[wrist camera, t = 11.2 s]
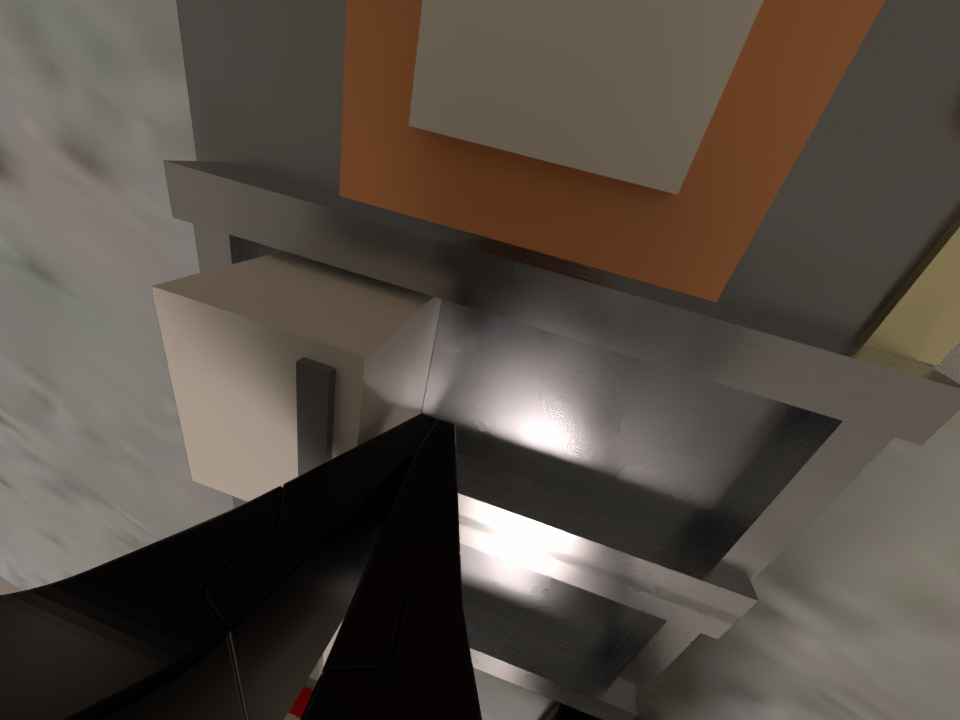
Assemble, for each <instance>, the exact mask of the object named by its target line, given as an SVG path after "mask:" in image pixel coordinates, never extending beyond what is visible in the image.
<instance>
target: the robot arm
mask: <svg viewBox="0 0 960 720" xmlns="http://www.w3.org/2000/svg"><path fill="white" fill-rule="evenodd" d="M343 619H344V620H343ZM342 621H343V622H342ZM341 622H342V624H341ZM340 624H341V627H340V629H339V631H338V634H337V636H336V638H335V641H334V643H333V646H332V648H331V650H330V653H329V655H328V657H327V660H326V662H325V665H324V667H323V670H322V674H321V675H320V677H319V679H318V681H317V684H316V686H315V688H314V691H313V693H312V695H311V697H310V700H309V702H308V704H307V706H306V708H305V710H304V712H303V714H302V716H301V718H300V720H482V717H481V711H480V705H479V699H478V693H477V688H476V682H475V676H474V670H473V664H472V658H471V652H470V646H469V640H468V633H467V626H466V618H465V611H464V602H463V589H462V576H461V555H460V532H459V507H458V481H457V456H456V430H455V425H454V424H453V423H451V422H448V421H445V420H442V419H438V418H436V417H433V416H430V415H427V414H423V413H422V414H419V415H417V416H415V417H413V418H411V419H409V420H407V421H405V422H403V423H401V424H399V425H397V426H395V427H393V428H391V429H389V430H388V431H386V432H384V433H382V434H380V435H378V436H376V437H374V438H372V439H370V440H368V441H366V442H364V443H362V444H360V445H358V446H356V447H354V448H352V449H350V450H349V451H347V452H345V453H343V454H341V455H339V456H337V457H335V458H333V459H331V460H329V461H327V462H325V463H323V464H321V465H319V466H317V467H315V468H313V469H312V470H310V471H308V472H306V473H304V474H302V475H300V476H298V477H296V478H294V479H292V480H290V481H288V482H286V483H284V485H283V488H282V486H278V487H276V488H274V489H272V490H270V491H268V492H266V493H264V494H262V495H261V496H259V497H256V498H254V499H252V500H250V501H248V502H246V503H244V504H242V505H240V506H238V507H236V508H234V509H232V510H230V511H228V512H225V513H223V514H221V515H218V516H216V517H214V518H212V519H209V520H207V521H205V522H202V523H200V524H198V525H196V526H193V527H191V528H189V529H186V530H184V531H182V532H179V533H177V534H174V535H172V536H169V537H167V538H165V539H162V540H160V541H157V542H155V543H153V544H150V545H148V546H145V547H143V548H141V549H138V550H136V551H133V552H131V553H129V554H126V555H124V556H121V557H119V558H117V559H114V560H112V561H109V562H107V563H105V564H102V565H100V566H97V567H95V568H93V569H90V570H88V571H85V572H82V573H80V574H77V575H75V576H72V577H69V578H66V579H63V580H60V581H57V582H54V583H51V584H48V585H44V586H40V587H37V588H33V589H29V590H25V591H20V592H16V593H11V594H6V595H0V720H284V719H285V717H286V715H287V714H288V712H289V710H290V709H291V707H292V705H293V703H294V702H295V700H296V698H297V697H298V695H299V693H300V692H301V690H302V688H303V687H304V685H305V683H306V681H307V680H308V678H309V676H310V675H311V673H312V671H313V670H314V668H315V666H316V665H317V663H318V661H319V659H320V658H321V656H322V654H323V653H324V651H325V649H326V648H327V646H328V644H329V643H330V641H331V639H332V637H333V636H334V634H335V632H336V631H337V629H338V627H339V626H340ZM544 720H602V719H599V718H597V717H594V716H592V715H589V714H587V713H584V712H582V711H580V710H577V709H575V708H572V707H570V706H567V705H565V704H562V703H560V702H557V703H556V705H555V706H554V707H553V709H552V710H551V711H550V713H549V714H548V715H547V717H546V718H545V719H544Z"/></svg>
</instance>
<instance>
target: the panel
mask: <svg viewBox="0 0 960 720" xmlns="http://www.w3.org/2000/svg"><path fill="white" fill-rule="evenodd" d="M176 3H177V10H178V18H179V26H180V34H181V41H182V49H183V57H184V65H185V72H186V80H187V88H188V96H189V103H190V111H191V119H192V127H193V134H194V142H195V150H196V158H197V161H167V160H163V162H164V168H165V174H166V180H167V186H168V192H169V198H170V203H171V209H172V215H173V217H174V218H177V219H180V220H183V221H187V222H190V223H193V225H194V232H195V239H196V246H197V253H198V260H199V267H200V273H202V272H206V271H210V270H213V269H217V268H221V267H224V266H228V265H232V264H235V263H239V262H243V261H247V260H250V259H254V258H258V257H261V256H265V255H269V254H272V253H276V252H280V251H285V252H289V253H292V254H295V255H299V256H302V257H305V258H309V259H312V260H315V261H318V262H322V263H325V264H328V265H332V266H335V267H338V268H341V269H345V270H348V271H351V272H355V273H358V274H361V275H364V276H368V277H371V278H374V279H378V280H381V281H384V282H388V283H391V284H394V285H397V286H401V287H404V288H407V289H411V290H414V291H417V292H420V293H424V294H427V295H430V296H434V297H437V298H440V299H442V300H441V306H440V311H439V317H438V322H437V328H436V333H435V339H434V344H433V350H432V355H431V361H430V366H429V372H428V377H427V383H426V388H425V394H424V399H423V405H422V410H421V414H422V413H423V414H427V415H430V416H433V417H436V418H438V419H442V420H445V421H448V422H451V423H453V424H454V425H455V430H456V456H457V481H458V507H459V532H460V555H461V576H462V589H463V602H464V611H465V618H466V626H467V633H468V640H469V646H470V652H471V658H472V664H473V667H474V668H476V669H479V670H481V671H484V672H486V673H489V674H491V675H494V676H496V677H499V678H501V679H503V680H506V681H508V682H511V683H513V684H516V685H518V686H521V687H523V688H526V689H528V690H530V691H533V692H535V693H538V694H540V695H543V696H545V697H548V698H550V699H553V700H555V701H557V702H560V703H562V704H565V705H567V706H570V707H572V708H575V709H577V710H580V711H582V712H584V713H587V714H589V715H592V716H594V717H597V718H599V719H602V720H634V719H635V718H636V717H637V716H638V711H637V701H636V698H637V697H638V696H639V695H640V694H641V693H642V692H643V691H644V690H645V689H646V688H647V687H648V686H649V685H650V684H651V683H652V682H653V681H654V680H655V679H656V678H657V677H658V676H659V675H660V674H661V673H662V672H663V671H664V670H665V669H666V668H667V667H668V666H669V665H670V664H671V663H672V662H673V661H674V660H675V659H676V658H677V657H678V656H679V655H680V654H681V653H682V652H683V651H684V650H685V649H686V648H687V647H688V646H689V645H690V644H691V643H692V642H693V641H694V640H695V639H696V637H697V636H698V635H699V634H700V633H702V634H705V635H707V636H710V637H713V638H715V639H719V638H720V637H721V636H722V635H723V634H724V633H725V632H726V631H727V630H728V629H729V628H731V627H732V626H733V625H734V624H735V623H736V622H737V621H738V620H739V619H740V618H741V617H742V616H743V615H744V614H745V613H746V612H747V611H748V610H749V609H750V608H751V607H753V606H754V605H755V604H756V603H757V602H758V599H757V596H756V594H755V591H754V589H753V587H752V584H751V582H752V581H753V580H754V579H755V578H756V577H757V576H758V575H759V574H760V573H761V572H762V571H763V570H764V569H765V568H766V567H767V566H768V565H769V564H770V563H771V562H772V561H773V560H774V559H775V558H776V557H777V556H778V555H779V554H780V553H781V552H782V551H783V550H784V549H785V548H786V547H787V546H788V545H789V544H790V543H791V541H792V540H793V539H794V538H795V537H796V536H797V535H798V534H799V533H800V532H801V531H802V530H803V529H804V528H805V527H806V526H807V525H808V524H809V523H810V522H811V521H812V520H813V519H814V518H815V517H816V516H817V515H818V514H819V513H820V512H821V511H822V510H823V509H824V508H825V507H826V506H827V505H828V504H829V503H830V502H831V501H832V500H833V499H834V498H835V497H836V496H837V495H838V494H839V493H840V492H841V491H842V490H843V489H844V488H845V487H846V486H847V485H848V484H849V483H850V482H851V481H852V480H853V479H854V478H855V477H856V476H857V475H858V474H859V473H860V472H861V471H862V470H863V469H864V468H865V467H866V466H867V465H868V464H869V463H870V462H871V461H872V460H873V459H874V458H875V457H876V456H877V455H878V454H879V453H880V452H881V451H882V450H883V449H884V448H885V447H886V445H887V444H888V443H889V442H890V441H891V440H892V439H893V438H894V437H898V438H901V439H904V440H908V441H911V442H914V443H917V444H921V445H923V444H924V443H925V442H926V441H927V440H928V439H929V438H930V437H931V436H932V435H933V434H934V433H935V432H936V431H937V430H938V429H939V428H940V427H941V426H943V425H944V424H945V423H946V422H947V421H948V420H949V419H950V418H951V417H952V416H953V415H954V414H955V413H956V412H957V411H958V410H959V409H960V384H959V383H957V382H955V381H953V380H952V379H950V378H948V377H946V376H945V375H943V374H941V373H939V372H938V371H936V370H934V369H932V368H933V367H934V366H935V365H936V366H937V365H938V364H939V363H940V362H941V361H942V360H943V359H944V358H945V357H946V356H947V355H948V354H949V353H950V352H951V350H952V349H953V348H954V347H955V346H956V345H957V344H958V343H959V342H960V0H885V2H884V4H883V6H882V8H881V9H880V11H879V13H878V15H877V16H876V18H875V20H874V22H873V24H872V25H871V27H870V29H869V31H868V33H867V34H866V36H865V38H864V40H863V41H862V43H861V45H860V47H859V49H858V50H857V52H856V54H855V56H854V57H853V59H852V61H851V63H850V65H849V66H848V68H847V70H846V72H845V74H844V75H843V77H842V79H841V81H840V82H839V84H838V86H837V88H836V90H835V91H834V93H833V95H832V97H831V99H830V100H829V102H828V104H827V106H826V107H825V109H824V111H823V113H822V115H821V116H820V118H819V120H818V122H817V124H816V125H815V127H814V129H813V131H812V132H811V134H810V136H809V138H808V140H807V141H806V143H805V145H804V147H803V149H802V150H801V152H800V154H799V156H798V157H797V159H796V161H795V163H794V165H793V166H792V168H791V170H790V172H789V173H788V175H787V177H786V179H785V181H784V182H783V184H782V186H781V188H780V190H779V191H778V193H777V195H776V197H775V198H774V200H773V202H772V204H771V206H770V207H769V209H768V211H767V213H766V215H765V216H764V218H763V220H762V222H761V223H760V225H759V227H758V229H757V231H756V232H755V234H754V236H753V238H752V239H751V241H750V243H749V245H748V247H747V248H746V250H745V252H744V254H743V256H742V257H741V259H740V261H739V263H738V264H737V266H736V268H735V270H734V272H733V273H732V275H731V277H730V279H729V281H728V282H727V284H726V286H725V288H724V289H723V291H722V293H721V295H720V297H719V298H718V300H717V302H714V301H710V300H707V299H703V298H700V297H696V296H693V295H689V294H685V293H682V292H678V291H675V290H671V289H668V288H664V287H661V286H657V285H654V284H650V283H646V282H643V281H639V280H636V279H632V278H629V277H625V276H622V275H618V274H615V273H611V272H608V271H604V270H600V269H597V268H593V267H590V266H586V265H583V264H579V263H576V262H572V261H569V260H565V259H561V258H558V257H554V256H551V255H547V254H544V253H540V252H537V251H533V250H530V249H526V248H522V247H519V246H515V245H512V244H508V243H505V242H501V241H498V240H494V239H491V238H487V237H483V236H480V235H476V234H473V233H469V232H466V231H462V230H459V229H455V228H452V227H448V226H444V225H441V224H437V223H434V222H430V221H427V220H423V219H420V218H416V217H413V216H409V215H405V214H402V213H398V212H395V211H391V210H388V209H384V208H381V207H377V206H374V205H370V204H366V203H363V202H359V201H356V200H352V199H349V198H345V197H342V196H339V189H340V162H341V134H342V107H343V79H344V51H345V24H346V0H176ZM232 497H233V504H234V508H236V507H238V506H240V505H242V504H244V503H246V502H247V501H245V500H242V499H239V498H237V497H234V496H232Z"/></svg>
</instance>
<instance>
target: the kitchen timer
mask: <svg viewBox="0 0 960 720" xmlns="http://www.w3.org/2000/svg"><path fill="white" fill-rule="evenodd" d="M312 693H313V691H312V690H310V689H308V688H306V687H303V688H302V690H301V692H300V693H299V695H298V697H297V698H296V700H295V702H294V703H293V705H292V707H291V709H290V710H289V712H288V714H287V715H286V717H285V719H284V720H300V718H301V716H302V714H303V712H304V710H305V708H306V706H307V704H308V702H309V700H310V697H311V695H312Z"/></svg>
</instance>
